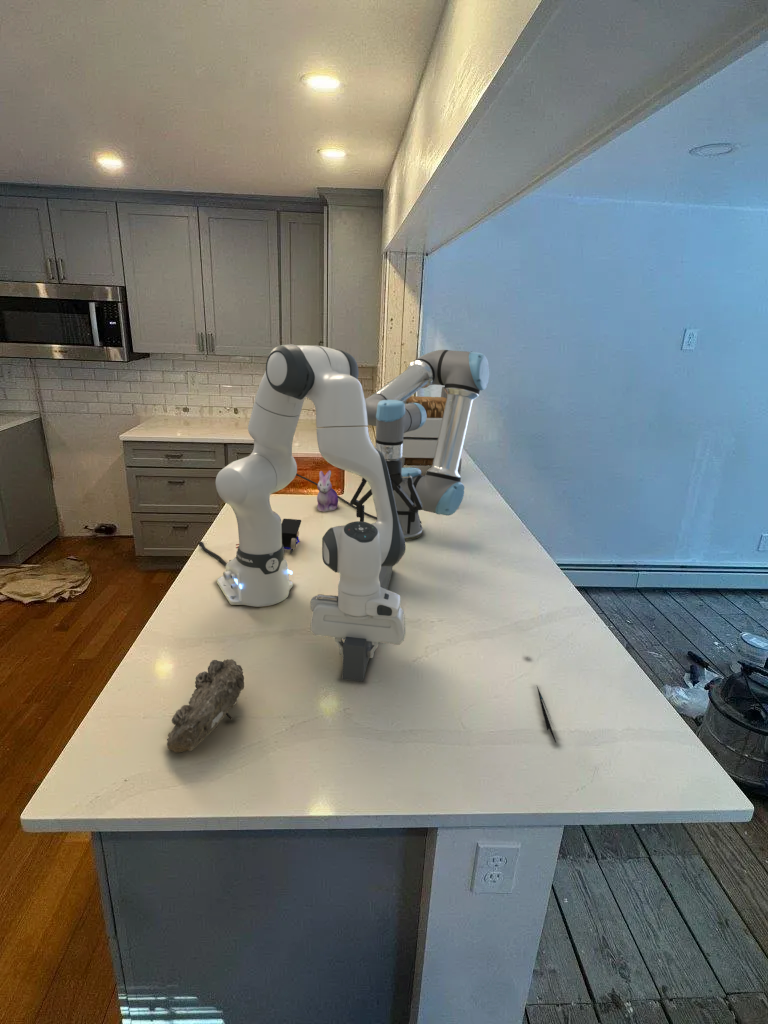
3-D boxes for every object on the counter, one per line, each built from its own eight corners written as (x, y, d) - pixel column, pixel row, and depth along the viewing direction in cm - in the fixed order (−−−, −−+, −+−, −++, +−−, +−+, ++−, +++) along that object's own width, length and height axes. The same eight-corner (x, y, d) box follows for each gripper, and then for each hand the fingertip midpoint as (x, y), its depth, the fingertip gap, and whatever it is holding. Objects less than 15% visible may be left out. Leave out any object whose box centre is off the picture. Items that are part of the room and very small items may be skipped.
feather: (528, 662, 131) (533, 656, 131) (556, 747, 105) (562, 740, 104) (522, 659, 131) (527, 652, 130) (548, 742, 104) (555, 735, 104)
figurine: (320, 513, 215) (320, 475, 210) (311, 505, 224) (311, 468, 219) (343, 510, 219) (344, 473, 214) (333, 502, 228) (333, 466, 223)
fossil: (192, 660, 117) (244, 628, 112) (224, 691, 120) (276, 661, 115) (142, 746, 98) (202, 712, 93) (182, 779, 101) (242, 748, 96)
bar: (377, 569, 172) (379, 543, 169) (392, 571, 172) (393, 544, 169) (342, 679, 121) (343, 644, 118) (362, 681, 120) (364, 646, 117)
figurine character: (297, 560, 179) (302, 537, 192) (296, 539, 175) (302, 517, 189) (275, 559, 178) (282, 536, 192) (274, 538, 175) (281, 516, 189)
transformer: (382, 463, 289) (386, 382, 275) (445, 464, 293) (451, 384, 279) (390, 482, 257) (394, 392, 243) (460, 483, 261) (468, 394, 247)
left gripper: (306, 600, 117) (307, 657, 122) (404, 610, 115) (401, 668, 120) (314, 586, 123) (314, 641, 128) (407, 596, 121) (404, 651, 126)
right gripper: (341, 457, 153) (339, 530, 160) (433, 464, 150) (427, 538, 157) (346, 451, 160) (344, 521, 167) (434, 457, 157) (429, 529, 164)
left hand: (357, 654), depth 124 cm, fingers closed on bar, 4 cm apart
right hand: (385, 530), depth 162 cm, fingers open, 13 cm apart
